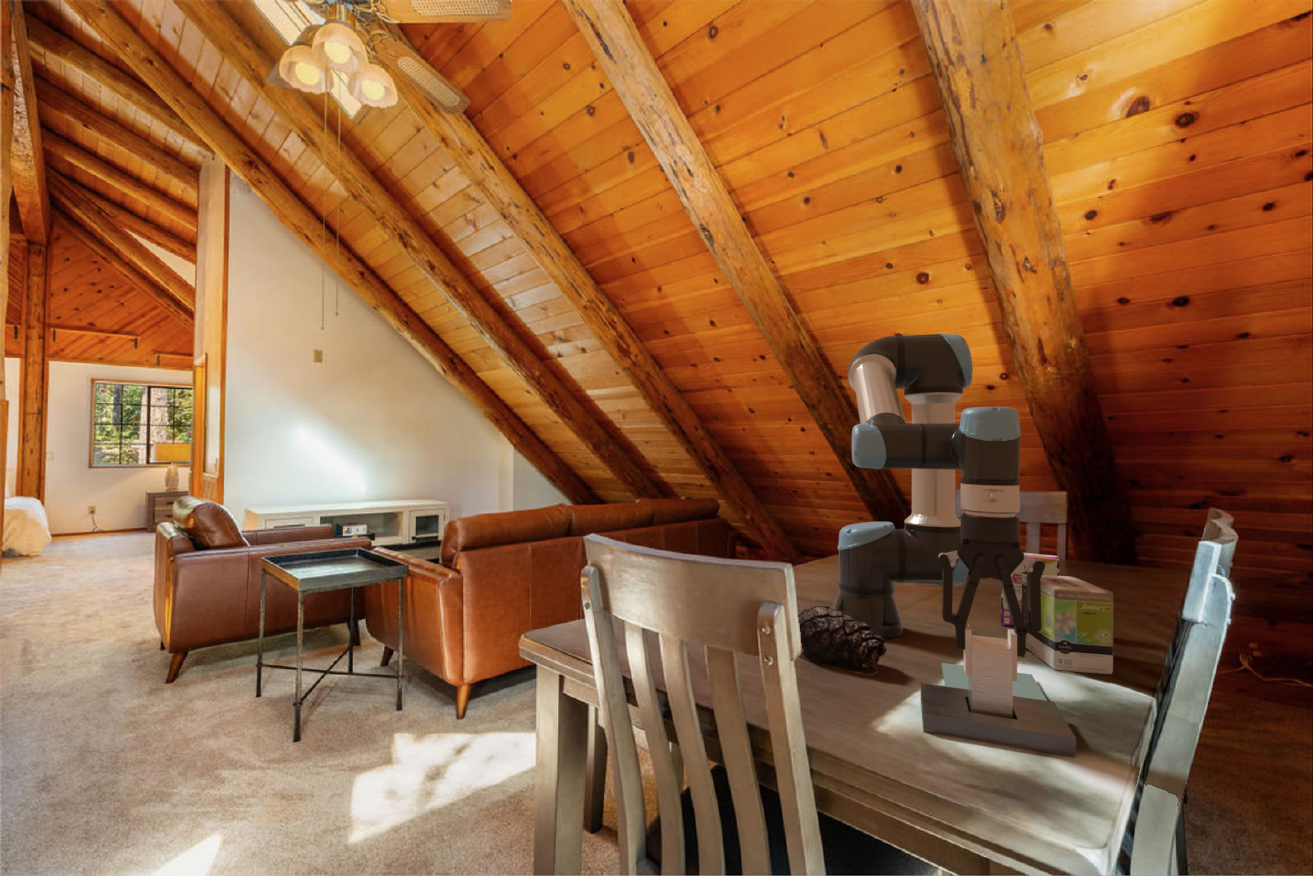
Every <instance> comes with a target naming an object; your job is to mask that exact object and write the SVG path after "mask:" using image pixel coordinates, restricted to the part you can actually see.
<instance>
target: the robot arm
mask: <svg viewBox="0 0 1313 876" xmlns="http://www.w3.org/2000/svg"><path fill="white" fill-rule="evenodd" d="M969 346H970V345H969V344H968V342H967V341H966V339H965V338H964V337H963V336H961V335H959V334H957V333H956V334H955V333H954V334H952V333H941V332H940V333H932V334H930V333H929V334H927V333H926V334H909V335H908V334H907V335H888V336H883V337H879V338H877V339H874V340H873V341H870V342H869V343H867V344H865V345H864V346H862V347H861V348H860V349H859V350H858V351H857V352H856V353H855V354H854V356H853V357H852V359H851V360H850V362H849V365H848V370H847V378H848V383H849V385H850V387H851V389H852V390H853V391H854V392H855V396H856V403H857V409H858V416H859V423H858V424H856V425H854V426H853V428H852V431H851V460H852V463H853V464H854V466H856V467H858V468H862V469H863V468H864V469H874V470H880V469H881V470H882V469H883V470H884V469H885V470H886V469H887V470H889V469H893V470H894V469H895V470H896V469H899V470H900V469H901V470H906V469H907V470H911V514H910V515H908V517H906V518H905V519H904V523H903V527H904V528H899V529H898V528H896V527H895V525H894V523H893V522H891V521H868V522H858V523H853V524H851V523H850V524H848V525H847V524H846V525H845V526H843V527H842V528H841V529H840V530H839V533H838V545H837V550H838V591H837V592H838V593H837V595H836V597H835V601H834V604H833V606H832V609H836V610H838V611H841V612H842V613H844V614H846V615H848V616H850V617H852V618H853V619H855V621H858V622H860V623H862V622H864V623H866V624H867V625H869V626H870V630H873V631H874V632H875V634H876V635H878V636H881V637H882V638H883V639H884V640H885V639H892V638H897V637H899V636H901V635H903V631H904V623H903V620H902V619H903V618H902V616H901V612H900V609H899V607H898V603H897V600H896V597H895V584H906V585H907V584H908V585H910V584H912V585H925V586H927V585H928V586H938V587H941V590H942V592H941V593H942V594H941V616H942V619H943V621H944V622H945V623H949V624H951V625H954V627H955V633H954V634H955V638H954V639H955V642H954V643H955V645H956V648H957V650H963V666H964V671H965V674H966V675H971V635H972V627H971V625H970V624H967V622H968V619H969V616H970V612H971V610H972V605H973V602H974V599H975V596H976V593H977V589H978V586H979V585H980V581H981V579H984V580H985V579H990V578H991V579H993V580H997V581H1000V582H999V583H1000V586H1001V585H1002V588H1003V591H1004V595H1005V598H1006V602H1007V605H1008V609H1009V612H1010V616H1011V619H1012V622H1013V626H1014V627H1013V629H1012V628H1011V629H1010V628H1007V640H1008V643H1009V644H1010V646H1011V648H1012V650H1013V681H1017V673H1018V657H1023V658H1025V656H1026V654H1027V653H1026V652H1027V651H1026V649H1027V648H1026V635H1027V633H1029V632H1033V631H1036V632H1038V631H1040V630H1041V583H1040V578H1041V576H1042V573H1043V571H1044V569H1045V564H1044V563H1043V562H1042V561H1041V560H1040V559H1038V558H1035V559H1033V558H1031V557H1028V556H1025V555H1024V553H1025V552H1024V551H1023V550H1022V548H1021V532H1020V531H1021V519H1020V518H1019V516H1017V515H1016V514H1018V513H1019V512H1020V511H1021V510H1020V509H1021V507H1020V506H1021V504H1020V503H1021V501H1020V500H1021V499H1020V493H1021V492H1020V483H1021V482H1020V479H1021V477H1020V475H1021V473H1020V471H1021V469H1020V467H1021V465H1020V464H1021V458H1020V457H1021V456H1020V454H1021V434H1022V430H1021V426H1020V415H1019V411H1018V410H1017V409H1016V408H1014V407H1010V406H981V407H979V406H977V407H968V408H965V409H963V410H962V412H961V414H960V422H957V423H956V403H957V402H958V401H959V400H960V399H961V398H962V397H964V394H963V393H964V389H966V388H970V386H971V384H972V382H973V370H974V367H973V359H972V353H971V350H970V347H969ZM898 389H899V390H903V397H904V399H905V400H906V401H908V402H909V404H910V405H911V423H907V420H906V417H905V416H906V415H905V413H904V411H903V407H902V404H901V401H900V397H899V394H898ZM956 471H960V509H961V510H962V511H963V512H964V513H962V514H961V515H960V519H959V518H958V517H957V515H956ZM1021 562H1022V563H1024V569H1025V570H1026V571H1027V572H1028V573H1027V603H1028V620H1027V621H1023V617H1022V614H1021V610H1020V607H1019V604H1018V600H1017V597H1016V593H1015V590H1014V586H1013V582H1012V578H1011V574H1012V572H1013V571H1014V570H1015V569H1016V568H1017V567H1018V566H1019V565H1020V563H1021ZM964 583H965V585H964V588H963V591H962V594H961V597H960V601H959V605H958V607H957V611H956V614H955V613H954V612H953V590H954V589H953V587H957V586H962V585H963V584H964Z"/></svg>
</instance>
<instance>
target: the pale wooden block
mask: <svg viewBox="0 0 1313 876" xmlns="http://www.w3.org/2000/svg"><path fill="white" fill-rule="evenodd" d="M968 702H969V706H970V709H971V713H977V714H983V715H990V716H996V717H1002V718H1009V719H1013V650H1012V648H1011V646H1010V644H1009V643H1008V638H1001V637H992V636H985V635H975V634H971V675H968Z"/></svg>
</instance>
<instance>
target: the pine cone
mask: <svg viewBox="0 0 1313 876" xmlns="http://www.w3.org/2000/svg"><path fill="white" fill-rule="evenodd" d="M797 616H798V617H799V623H800V632H801V643H802V647H801V648H802V650H801V651H802V653H801V656H799V657H801V658H802V659H804V660H806V661H810V662H813V663H817V664H819V665H822V666H827V667H831V668H834V669H838V670H839V669H840V670H844V671H847V672H852V673H854V674H860V675H866V676H874V677H875V676H877V677H880V674H876V673H878V669H877V667H875V666H876V664H878V663H879V661H880V658H882V656H885V654H886V652H887V650H888V649H887V647H886V646H885V642H886V640H885V638H884V639H883V638H882V637H881V636H878V635H876V634H875V632H874V631H873V630H870V626H869V625H867V624H866V623H864V622H862V623H860V622H858V621H855V619H853V618H852V617H850V616H848V615H846V614H844V613H842V612H841V611H838V610H836V609H833V607H832V608H831V606H829V605H825V604H811V605H810V606H807V607H805V608H804V609H803V610H801V611H800V613H799V614H798V615H797Z"/></svg>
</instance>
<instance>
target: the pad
mask: <svg viewBox="0 0 1313 876" xmlns="http://www.w3.org/2000/svg"><path fill="white" fill-rule="evenodd" d="M941 671H942V677H943V682H944V686H946V687H953V688H961V689H968V675H966V674H965V671H964V665H960V664H955V663H954V664H953V663H946V662H941ZM1013 696H1017V697H1024V698H1031V699H1038V700H1045V701H1048V699H1047V698H1046V696H1045V694H1044V693H1043V691H1042V689H1041V688H1040V687H1039V684H1038V682H1037V681H1036V680H1035V678H1034V676H1033V674H1031V673H1025V672H1024V673H1022V672H1017V681H1013Z"/></svg>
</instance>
